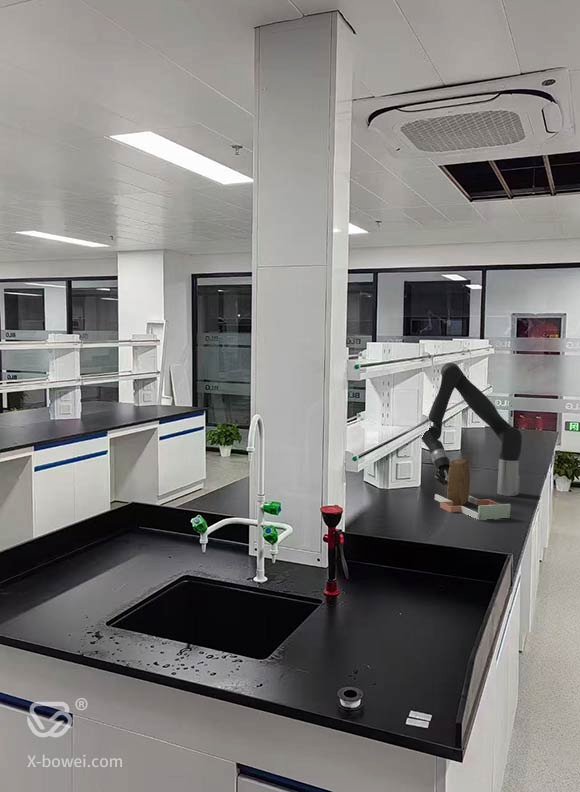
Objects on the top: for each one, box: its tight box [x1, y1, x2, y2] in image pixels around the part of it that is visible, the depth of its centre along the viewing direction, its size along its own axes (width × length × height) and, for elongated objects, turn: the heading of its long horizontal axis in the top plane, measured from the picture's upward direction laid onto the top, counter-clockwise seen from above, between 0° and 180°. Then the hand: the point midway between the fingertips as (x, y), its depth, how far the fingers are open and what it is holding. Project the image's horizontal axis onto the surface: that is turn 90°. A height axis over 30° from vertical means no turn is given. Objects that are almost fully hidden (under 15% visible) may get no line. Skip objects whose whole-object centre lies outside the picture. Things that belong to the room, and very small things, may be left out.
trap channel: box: [434, 493, 512, 521], centre depth 297 cm, size 25×36×6 cm
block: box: [446, 458, 471, 506], centre depth 306 cm, size 11×8×20 cm
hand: (452, 491), depth 311 cm, fingers closed
